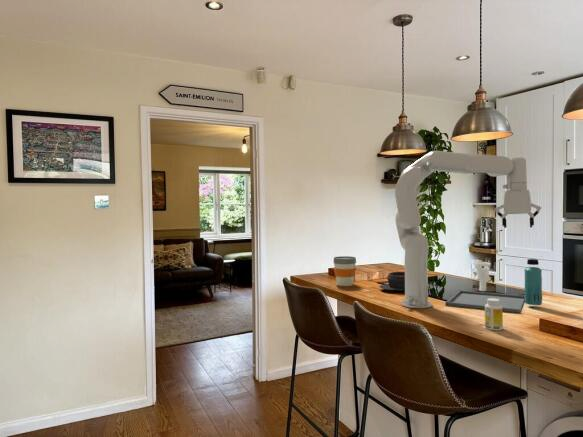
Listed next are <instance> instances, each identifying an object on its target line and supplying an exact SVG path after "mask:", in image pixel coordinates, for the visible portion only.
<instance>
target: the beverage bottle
mask: <svg viewBox="0 0 583 437" xmlns="http://www.w3.org/2000/svg"><path fill="white" fill-rule="evenodd" d="M526 264H527V265H529V266H527V267H526V268H524V293H523V294H524V295H523V296H524V304H526V305H530V306H540V305H542V304H543V288H542V287H543V279H542V275H543V274H542V269H541V268H540V267H538V266H539V259H537V258H528V259H527V262H526ZM530 265H531V266H530ZM532 265H533V266H532Z"/></svg>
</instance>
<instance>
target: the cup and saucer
mask: <svg viewBox="0 0 583 437" xmlns="http://www.w3.org/2000/svg"><path fill="white" fill-rule="evenodd" d="M386 279H387V281H388V283H387V284H379V286H378V287H379V288H381V289H383V290H386V291H394V292H398V293H405V271H392V272H389V273H388V275H387V276H386Z"/></svg>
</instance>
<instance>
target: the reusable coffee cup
mask: <svg viewBox="0 0 583 437" xmlns="http://www.w3.org/2000/svg"><path fill="white" fill-rule="evenodd" d="M356 263H357V259H356V257H355V256H349V255H347V256H346V255H345V256H344V255H343V256H341V255H340V256H334V257H333V266H334V268H333V270H334V276H335V280H336V285H337V286H340V287H351V286H353V285H354V281H355V276H356V269H357V268H356Z"/></svg>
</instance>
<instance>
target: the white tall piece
mask: <svg viewBox="0 0 583 437" xmlns="http://www.w3.org/2000/svg"><path fill="white" fill-rule="evenodd" d="M474 267H475V268H476V276H475V277H474V280H475V281H479V282H478V283H479V292H487V282H488V281H491V278H492V277H490V269H489V268H490V267H491V262H489V261H482V260H481V259H480V260H479V259H476V260H475V262H474Z"/></svg>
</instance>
